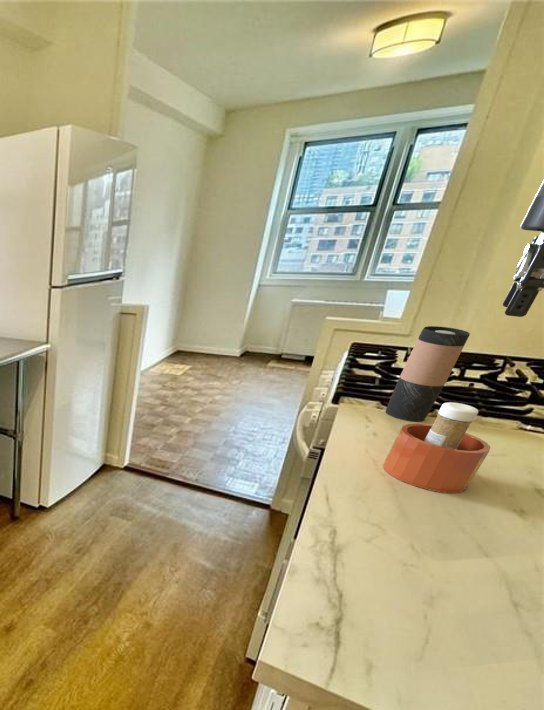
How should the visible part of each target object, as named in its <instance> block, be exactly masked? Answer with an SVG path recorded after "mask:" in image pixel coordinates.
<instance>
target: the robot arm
mask: <svg viewBox="0 0 544 710" xmlns="http://www.w3.org/2000/svg"><path fill="white" fill-rule="evenodd" d="M520 229H521V230H524V231H530V232H541V233H540V234H539V235H535V237H534V238H532V240H531V243H527V245H526V246H525V248H524V250H523V253H522V257H521V259H520V260H519V262H518V264H517V266H516V270H515V272H514V274H515V275H514V276H513V283H512V285H511V287H510V289H509V291H508V293H507V294H506V296H505V298H504V300H503V301H502V306H503V307H504V308H506V309H505V310H504V314H505V316H509V317H516V318H517V317H518V318H523V317H525V316H526V315H527V314H528V312H529V311H530V309H531V307H532V305H533V303H534V302H535V300H536V298H537V296H538V294H539V292H541V291H542V290H543V289H544V180H543V181H542V183H541V185H540V187H539V189H538V191H537V193H536V194H535V196H534V198H533V200H532V203H531V204H530V206H529V208H528V210H527V212H526V214H525V216H524V219H523V220H522V222H521V224H520Z"/></svg>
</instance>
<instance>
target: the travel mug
mask: <svg viewBox="0 0 544 710" xmlns="http://www.w3.org/2000/svg"><path fill="white" fill-rule="evenodd" d="M470 335H471V333H470V332H469V331H467V330H463V329H459V328H455V327H447V326H438V325H437V326H434V325H430V326H429V325H428V326H425V327H423V328H422V330H421V331H420V334H419V336H418V338H417V339H416V342H415V344H414V346H413V348H412V350H411V352H410V354H409V356H408V359H407V361H406V362H405V364H404V367H403V369H402V371H401V373H400V375H399V377H398V380H397V382H396V385H395V387H394V390H393V392H392V394H391V396H390V398H389V401H388V404H387V406H386V409H385V413H386V415H389V416H390V417H392V418H396V419H399V420H403V421H409V422H423V421H425V420H426V418H427V417H428V415H429V414H430V411H431V410H432V409H433V406H434V404H435V403H436V401H437V399H438V397H440V396H439V395H440V394H441V392H442V391H443V389H444V386H445V385H446V383H447V381H448V379H449V377H450V375H451V373H452V371H453V369H454V367H455V365H456V363H457V361H458V359H459V356H460V355H461V353H462V351H463V349H464V348H465V345H466V343H467V341H468V339H469V337H470Z"/></svg>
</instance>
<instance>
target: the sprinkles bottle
mask: <svg viewBox="0 0 544 710" xmlns="http://www.w3.org/2000/svg"><path fill="white" fill-rule="evenodd" d="M478 415H479V410H478V408H476V407H474V406H472V405H468V404H465V403H461V402H460V403H459V402H451V401H449V402H444V403H442V405H441V406H440V408H439V410H438V412H437V416H436V418H435V420H434V422H433V424H432V425H433V426H432V428H431V429H430V431H429V433H428V435H427V436H426V438H425V440H424V442H427V443H430V444H433V445H437V446H441V447H445V448H450V449H455V450H456V449H457V447H458V446H459V444H460V442H461V440H462V438H463V436H464V434H465V433H467V430H468V428H469V427H470V425H471V424H472V423H473V421H475V419H476V418H477V416H478Z"/></svg>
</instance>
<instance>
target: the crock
mask: <svg viewBox="0 0 544 710" xmlns="http://www.w3.org/2000/svg"><path fill="white" fill-rule="evenodd" d="M432 426H433V424H430V423H408V424H404V425H402V426H401V428H400V430H399V431H398V433H397V435H396V438H395V440H394V442H393V444H392V446H391V448H390V450H389V452H388V454H387V455H386V458H385V460H384V462H383V465H382V468H383V469H384V471H385V472H386V473H387V474H388V475H390V476H391V477H393V478H395V479H396V480H398V479H399V480H398V481H401V480H402V481H401V482H403V481H405V482H406V483H405V482H404V483H405V484H408V483H409V484H408V485H410V484H411V485H410V486H413V485H414V486H413V487H416V486H419V487H422V488H421V489H423V488H426V489H425V490H427V489H430V490H429V491H431V490H435V491H434V492H436V491H439V492H438V493H444V492H446V493H445V494H458V493H462V492H464V491H466V490H467V488H469V486H470V484H471V482H472V481H473V480H474V477H475V476H476V474H477V473H478V471H479V469H480V467H481V466H482V464H483V462H484V461H485V459H486V458H487V456H488V454H489V453H490V450H491V445H490V444H488V442H486V441H484V440H483V439H481V438H480V437H477V436H475V435H473V434H470V433H467V432H465V434H464V436H463V438H462V440H461V442H460V444H459V446H458V447H457V449H456V450H455V449H450V448H445V447H441V446H437V445H433V444H430V443H427V442H424V440H425V438H426V436H427V435H428V433H429V431H430V429H431V428H432ZM419 487H418V488H419Z"/></svg>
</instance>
